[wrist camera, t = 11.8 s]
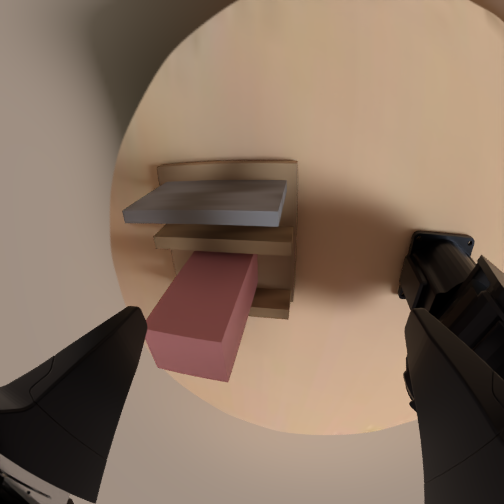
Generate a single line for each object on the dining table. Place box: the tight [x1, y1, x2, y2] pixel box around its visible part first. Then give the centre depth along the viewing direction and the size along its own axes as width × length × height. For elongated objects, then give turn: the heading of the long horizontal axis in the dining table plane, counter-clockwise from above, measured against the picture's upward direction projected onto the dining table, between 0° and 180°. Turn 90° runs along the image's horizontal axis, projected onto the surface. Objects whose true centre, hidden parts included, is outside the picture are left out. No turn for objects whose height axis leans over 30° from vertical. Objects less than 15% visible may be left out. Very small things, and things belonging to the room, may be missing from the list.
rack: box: [122, 160, 297, 319], centre depth 19 cm, size 10×12×7 cm
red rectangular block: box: [145, 251, 258, 382], centre depth 18 cm, size 4×4×10 cm
